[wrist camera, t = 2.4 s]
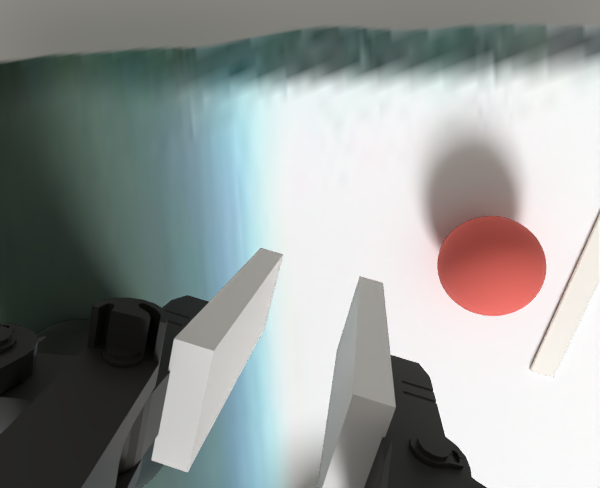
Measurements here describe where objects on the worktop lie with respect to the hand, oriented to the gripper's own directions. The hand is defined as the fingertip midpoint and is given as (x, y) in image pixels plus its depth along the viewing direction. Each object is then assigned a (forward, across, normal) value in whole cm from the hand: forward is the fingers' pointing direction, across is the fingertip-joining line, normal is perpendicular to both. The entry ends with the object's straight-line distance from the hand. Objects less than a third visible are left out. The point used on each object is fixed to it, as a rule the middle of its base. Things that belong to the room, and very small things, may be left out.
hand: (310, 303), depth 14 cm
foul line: (+17, +16, 0) cm, 23 cm away
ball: (+14, +10, 0) cm, 17 cm away
